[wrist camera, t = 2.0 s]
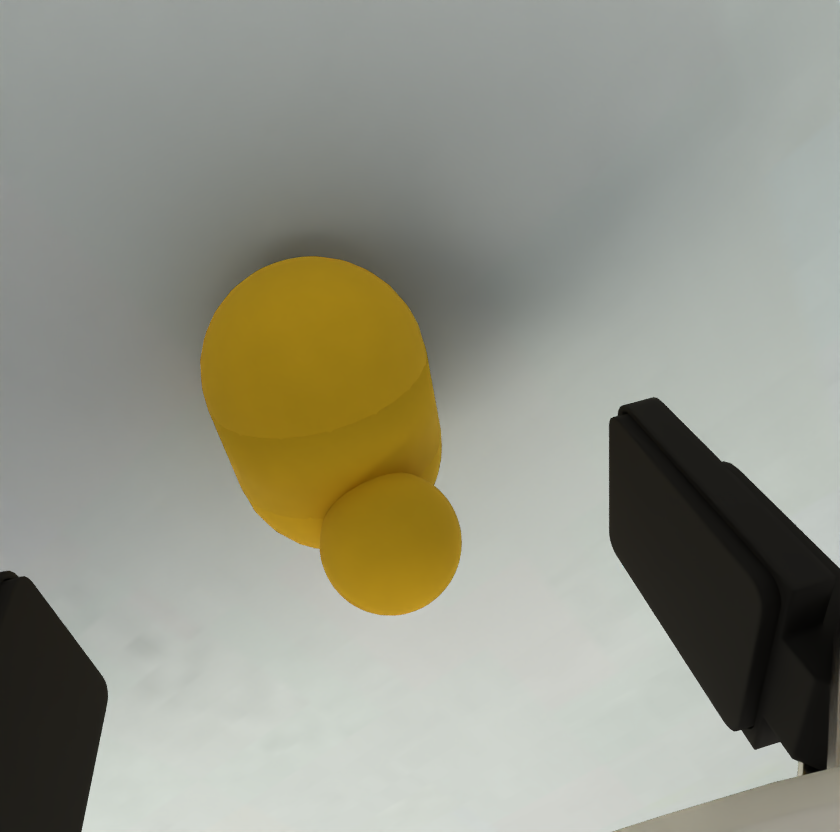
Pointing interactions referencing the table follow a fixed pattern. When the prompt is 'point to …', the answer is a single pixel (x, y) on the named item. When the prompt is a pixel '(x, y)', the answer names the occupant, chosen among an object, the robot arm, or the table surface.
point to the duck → (335, 426)
